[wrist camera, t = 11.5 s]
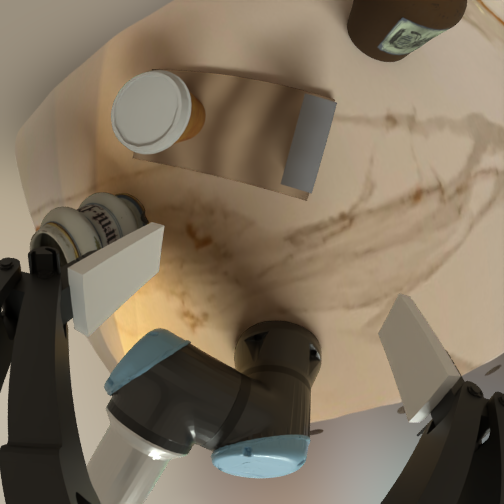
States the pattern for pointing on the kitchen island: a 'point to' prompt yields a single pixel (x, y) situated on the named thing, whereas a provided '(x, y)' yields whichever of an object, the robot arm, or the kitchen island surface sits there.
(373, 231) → the kitchen island surface
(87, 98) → the kitchen island surface
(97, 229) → the apothecary jar
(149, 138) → the disposable coffee cup
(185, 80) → the walnut board
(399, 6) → the olive oil
